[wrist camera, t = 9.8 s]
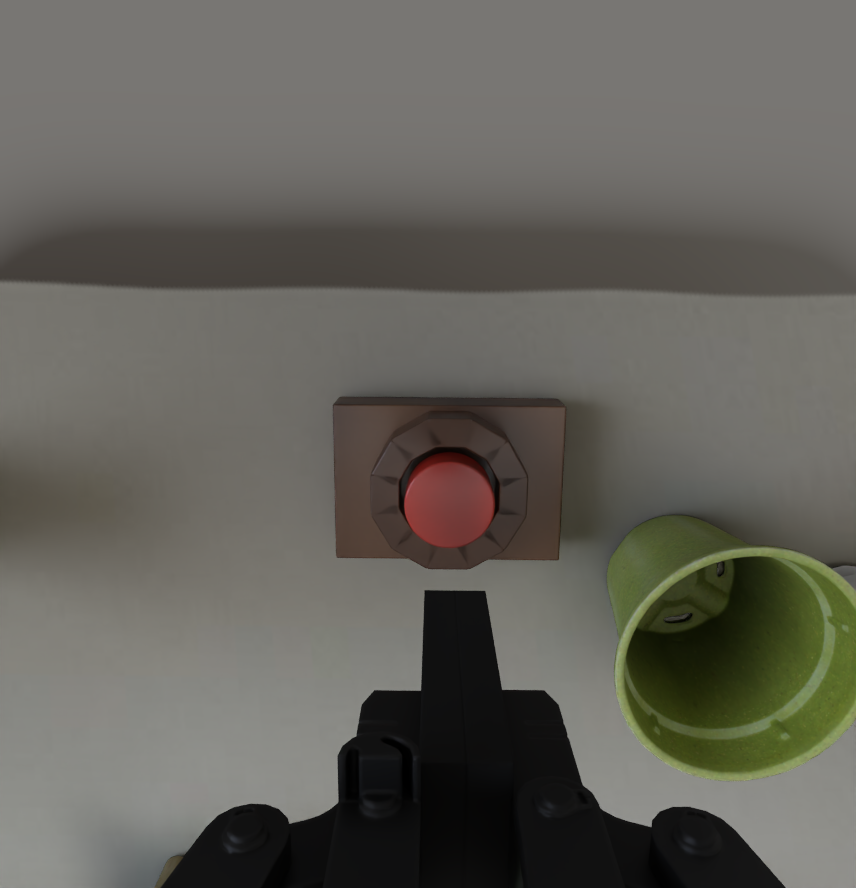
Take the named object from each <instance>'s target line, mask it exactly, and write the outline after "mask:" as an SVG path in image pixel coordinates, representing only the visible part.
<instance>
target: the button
mask: <svg viewBox="0 0 856 888" xmlns="http://www.w3.org/2000/svg"><path fill="white" fill-rule="evenodd" d="M404 511H405V516H406V519H407V521H408V523H409V525H410V527H411V529H412V530H413V531H414V532H415V534H416V535H417V536H418V537H420V538H421V539H422V540H424V541H425V542H427V543H429V544H431V545H434V546H437V547H441V548H458V547H462V546H465V545H468V544H470V543H472V542H474V541H475V540H477V539H478V538H479V537H481V536H482V535H483V534H484V533H485V531H486V530H487V529H488V527H489V525H490V524H491V522H492V519H493V516H494V512H495V498H494V493H493V489H492V486H491V482H490V479H489V477H488V475H487V473H486V471H485V470H484V469H483V467H482V466H481V465H480V464H479V463H478V462H476V461H475V460H474V459H472V458H470V457H468V456H466V455H463V454H460V453H455V452H443V453H438V454H435V455H432V456H430V457H428V458H426V459H424V460H423V461H422V462H421V463H419V464H418V465H417V466H416V467H415V469H414V470H413V472H412V473H411V475H410V477H409V479H408V482H407V486H406V492H405V499H404Z"/></svg>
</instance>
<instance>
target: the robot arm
mask: <svg viewBox="0 0 856 888" xmlns="http://www.w3.org/2000/svg"><path fill="white" fill-rule="evenodd" d="M338 794H339V802H338V804H336V805H335V806H334V807H333V808H332V809H330V810H329V811H327V812H325V813H323V814H321V815H319V816H317V817H314V818H311V819H308V820H304V821H300V822H295V823H291V824H289V822H288V818H287V817H286V816H285V815H284V814H283V813H282V812H281V811H280V810H279V809H277V808H274V807H271V806H269V805H266V804H247V805H243V806H238V807H234V808H232V809H230V810H228V811H226V812H224V813H222V814H220V815H218V816H217V817H216V818H215V819H214V820H213V821H212V822H211V823H210V824H209V825H208V826H207V827H206V828H205V829H204V831H203V832H202V833H201V835H200V836H199V837H198V839H197V840H196V841H195V843H194V844H193V845H192V847H191V848H190V849H189V851H188V852H187V853H186V854H185V856H184V857H183V858H182V860H181V861H180V862H179V864H178V865H177V866H176V868H175V869H174V870H173V872H172V873H171V874H170V876H169V877H168V878H167V880H166V881H165V882H164V884H163V885H162V886H161V887H160V888H786V887H785V886H784V885H783V884H782V883H781V882H780V881H779V880H778V878H777V877H776V876H775V875H774V874H773V873H772V872H771V870H770V869H769V868H768V867H767V866H766V865H765V864H764V862H763V861H762V860H761V859H760V858H759V857H758V856H757V855H756V853H755V852H754V851H753V850H752V849H751V848H750V847H749V845H748V844H747V843H746V842H745V841H744V840H743V839H742V838H741V836H740V835H739V834H738V833H737V832H736V831H735V830H734V829H733V828H732V827H731V826H729V825H728V824H727V823H726V822H725V821H724V820H722V819H721V818H719V817H717V816H715V815H713V814H711V813H709V812H707V811H703V810H699V809H695V808H691V807H671V808H669V809H666V810H663V811H661V812H659V813H658V814H657V816H656V817H655V818H654V819H653V820H652V827H648V826H644V825H640V824H636V823H632V822H628V821H625V820H622V819H619V818H616V817H614V816H612V815H610V814H608V813H607V812H605V811H603V810H602V809H600V807H599V804H598V802H597V800H596V799H595V797H594V795H593V794H592V792H590V791H589V790H588V789H587V788H585V787H584V786H583V785H582V782H581V778H580V775H579V772H578V768H577V765H576V762H575V758H574V755H573V752H572V748H571V745H570V742H569V738H567V732H566V728H565V725H564V724H563V718H562V715H561V712H560V708H559V705H558V704H557V703H556V702H555V701H554V700H553V699H552V698H551V697H550V696H549V695H548V694H547V693H546V692H545V691H544V690H502V687H501V681H500V675H499V669H498V664H497V658H496V652H495V646H494V640H493V634H492V628H491V622H490V616H489V610H488V604H487V598H486V593H485V591H432V590H425V597H424V626H423V655H422V684H421V691H382V690H374V691H373V693H372V694H371V695H370V696H369V697H368V698H367V699H366V701H365V702H364V703H363V704H362V707H361V713H360V718H359V724H358V730H357V737H354V738H352V739H351V740H350V741H348V742H347V743H346V744H345V745H343V746H342V748H341V750H340V752H339V754H338Z"/></svg>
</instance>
